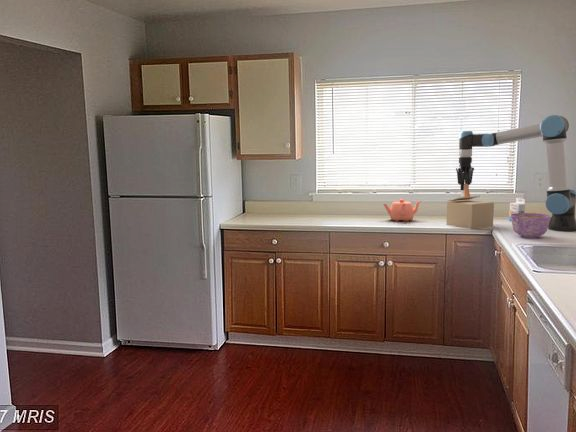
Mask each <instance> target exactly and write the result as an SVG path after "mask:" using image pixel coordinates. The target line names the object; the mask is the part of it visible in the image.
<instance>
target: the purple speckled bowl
mask: <svg viewBox="0 0 576 432" xmlns="http://www.w3.org/2000/svg"><path fill="white" fill-rule="evenodd" d="M510 216H511V221H510V222H511V225H512V229H513V231H514V232H515V233H516V234H517V235H519V236H520V237H521V238H526V239H537V238H538V237H542V235H545V234H546V232H548V230H549V229H548V226H549V223H550V220H551V217H552V215H550V214H545V213H544V214H543V213H534V212H524V213H514V214H511V215H510Z"/></svg>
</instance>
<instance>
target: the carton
mask: <svg viewBox="0 0 576 432" xmlns="http://www.w3.org/2000/svg"><path fill="white" fill-rule="evenodd" d="M494 210H495V203H494V202H493V201H485V200H472V199H470V200H460V201H446V221H445V223H446V225H448V226H454V227H458V228H465V229H470V230H472V229H480V228H482V229H483V228H490V227H494V215H495V214H494V212H495V211H494Z"/></svg>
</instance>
